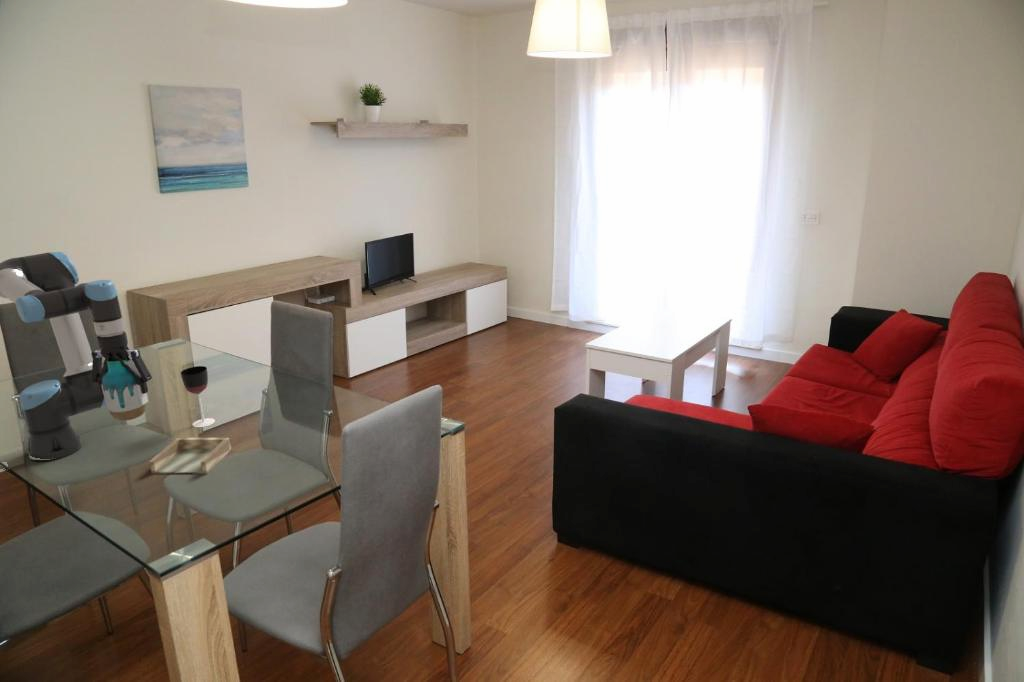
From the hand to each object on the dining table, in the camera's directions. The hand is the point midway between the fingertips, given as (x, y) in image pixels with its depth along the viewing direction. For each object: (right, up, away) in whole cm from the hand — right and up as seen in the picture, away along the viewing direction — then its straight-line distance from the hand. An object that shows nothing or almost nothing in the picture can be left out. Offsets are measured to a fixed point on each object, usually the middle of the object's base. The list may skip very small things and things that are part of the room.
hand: (127, 403), depth 210 cm
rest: (+14, -20, +11) cm, 27 cm away
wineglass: (+6, -11, +39) cm, 41 cm away
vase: (0, -5, +2) cm, 5 cm away
